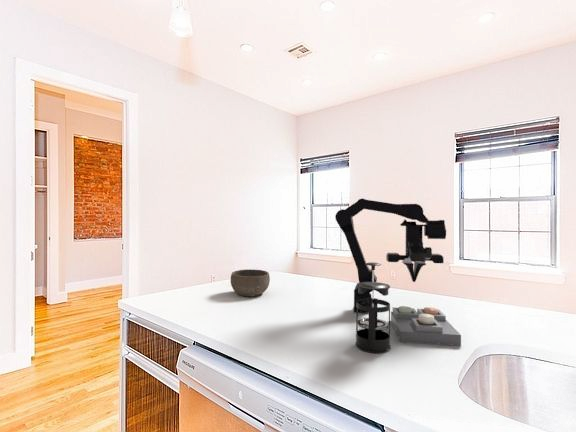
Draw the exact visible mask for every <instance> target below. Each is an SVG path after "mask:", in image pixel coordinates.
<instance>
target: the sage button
mask: <svg viewBox="0 0 576 432" xmlns="http://www.w3.org/2000/svg"><path fill="white" fill-rule="evenodd" d="M397 308H398V313H412V307H411V306H406V305H401V306H398V307H397Z"/></svg>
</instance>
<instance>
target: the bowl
mask: <svg viewBox="0 0 576 432" xmlns="http://www.w3.org/2000/svg"><path fill="white" fill-rule="evenodd" d="M270 280H271V277H270V272H269V271H266V270H262V269H251V268H250V269H247V268H246V269H239V270H235V271H232V272H231V274H230V285H231V287H232V289H233V291H234V292H235V294H237V295H239V296H242V297H255V296H260V295H263V293H265V292H266V290H267V289H268V288H269V285H270Z"/></svg>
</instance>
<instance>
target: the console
mask: <svg viewBox="0 0 576 432" xmlns="http://www.w3.org/2000/svg"><path fill="white" fill-rule="evenodd" d="M411 308H412V307H411ZM419 314H424V308H417V309H415V307H413V308H412V313H398V307H392V311H390V322H391V323H392V325H393V326H392V327H393V328H394V330H395V333H396V335H397V336H398V339H399V342H400V343H411V344H412V343H415V344H426V345H427V344H429V345H441V344H443V345H444V346H456V345H460V347H461V346H462V335H461V333H460V332H459V331H458V330H457V329H456V328H455V327H454V326H453V325H452V324H451V322H449V321H448V320H447V319H446V318H447V317H446V315H445V314H444V313H443V312H442V311H441V310H440V309H438V315H433V316H434V324H423V323H420V322H419ZM430 315H432V314H430ZM443 345H442V346H443Z"/></svg>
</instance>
